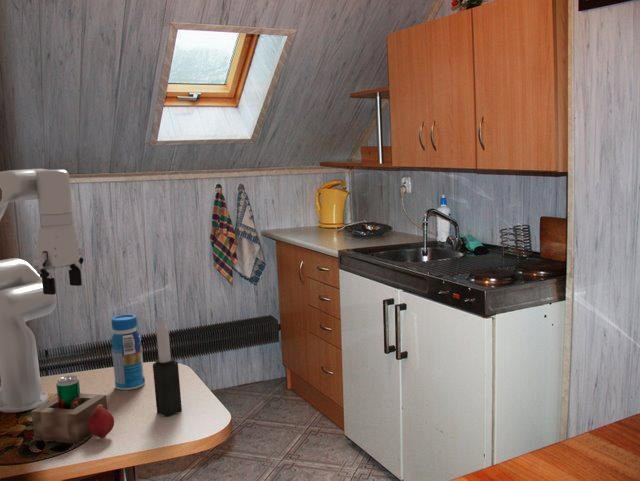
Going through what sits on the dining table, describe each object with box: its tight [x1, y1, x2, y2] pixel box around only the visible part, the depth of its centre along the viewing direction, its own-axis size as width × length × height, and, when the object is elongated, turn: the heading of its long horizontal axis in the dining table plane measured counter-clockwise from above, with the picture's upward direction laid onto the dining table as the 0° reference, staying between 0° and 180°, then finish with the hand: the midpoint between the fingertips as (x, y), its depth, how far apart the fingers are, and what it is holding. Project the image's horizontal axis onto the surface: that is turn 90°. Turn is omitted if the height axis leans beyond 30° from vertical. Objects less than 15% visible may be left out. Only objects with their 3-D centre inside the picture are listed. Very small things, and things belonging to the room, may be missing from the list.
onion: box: [88, 405, 115, 439], centre depth 153 cm, size 6×6×8 cm
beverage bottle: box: [110, 314, 146, 391], centre depth 187 cm, size 8×8×20 cm
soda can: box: [55, 374, 81, 409], centre depth 158 cm, size 5×5×12 cm
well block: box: [30, 392, 109, 445], centre depth 158 cm, size 12×12×7 cm
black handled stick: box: [152, 315, 183, 418], centre depth 166 cm, size 5×5×25 cm
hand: (63, 289), depth 163 cm, fingers open, 9 cm apart
